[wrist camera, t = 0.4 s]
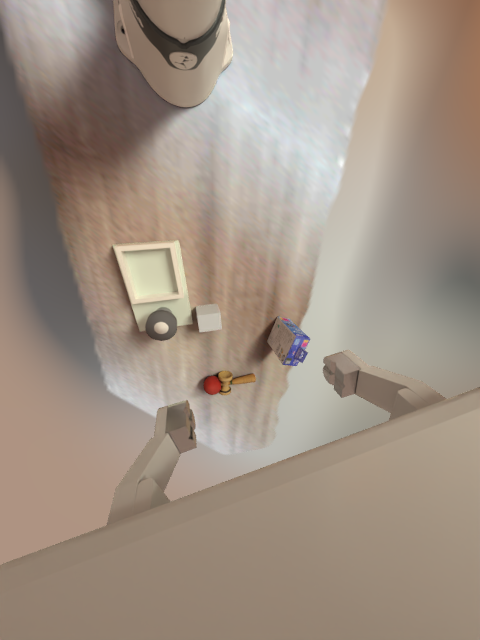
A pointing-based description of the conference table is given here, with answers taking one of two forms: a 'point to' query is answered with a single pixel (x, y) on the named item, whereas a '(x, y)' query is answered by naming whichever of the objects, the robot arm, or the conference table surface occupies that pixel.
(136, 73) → the conference table surface
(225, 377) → the kendama
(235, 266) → the conference table surface
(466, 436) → the robot arm
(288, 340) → the ink cartridge box
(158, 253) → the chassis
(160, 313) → the wheel
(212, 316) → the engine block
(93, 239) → the conference table surface
